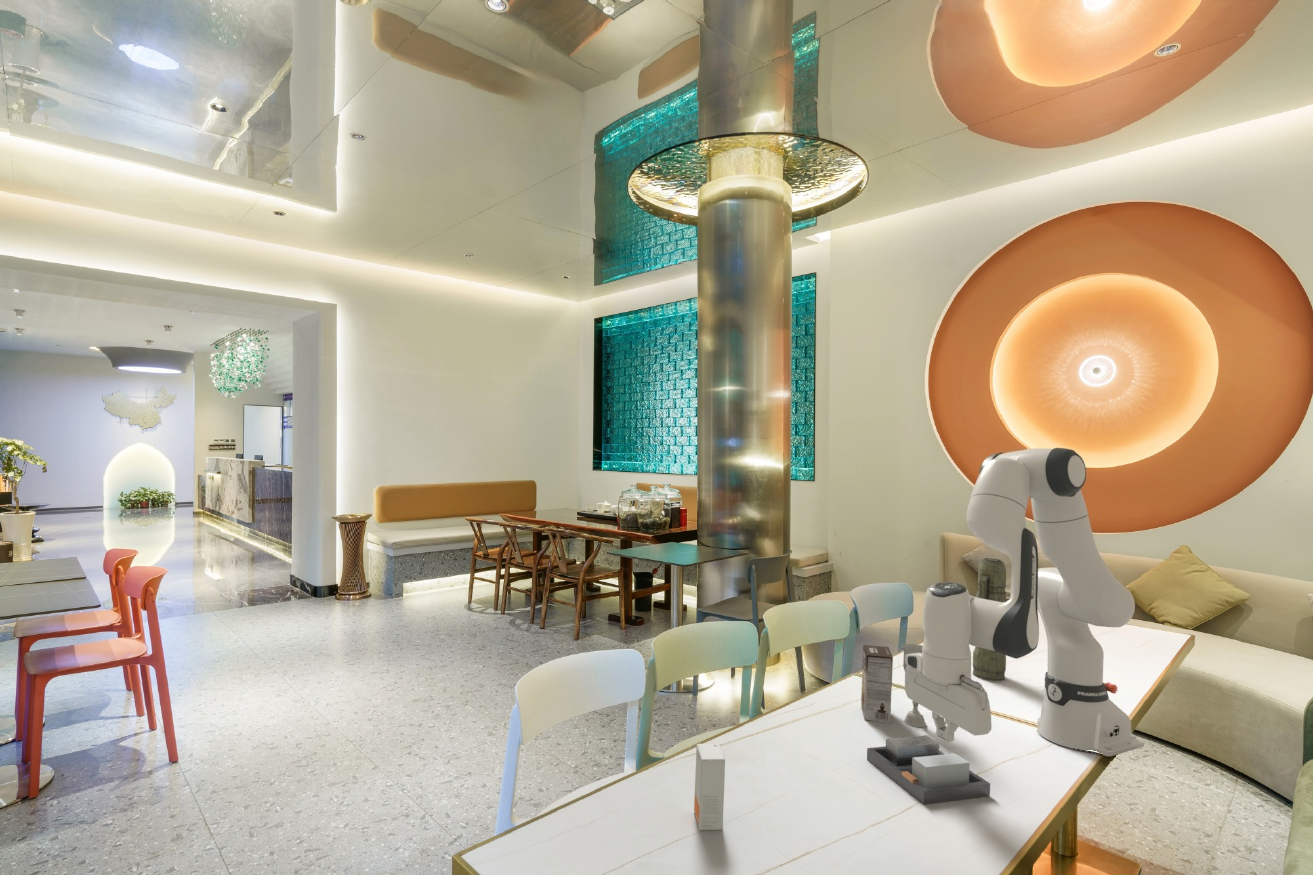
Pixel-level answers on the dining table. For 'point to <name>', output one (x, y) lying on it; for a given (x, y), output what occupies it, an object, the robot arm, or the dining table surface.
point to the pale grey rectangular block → (940, 770)
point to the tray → (899, 768)
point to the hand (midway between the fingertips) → (945, 738)
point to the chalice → (913, 716)
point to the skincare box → (709, 786)
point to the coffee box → (876, 683)
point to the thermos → (992, 588)
